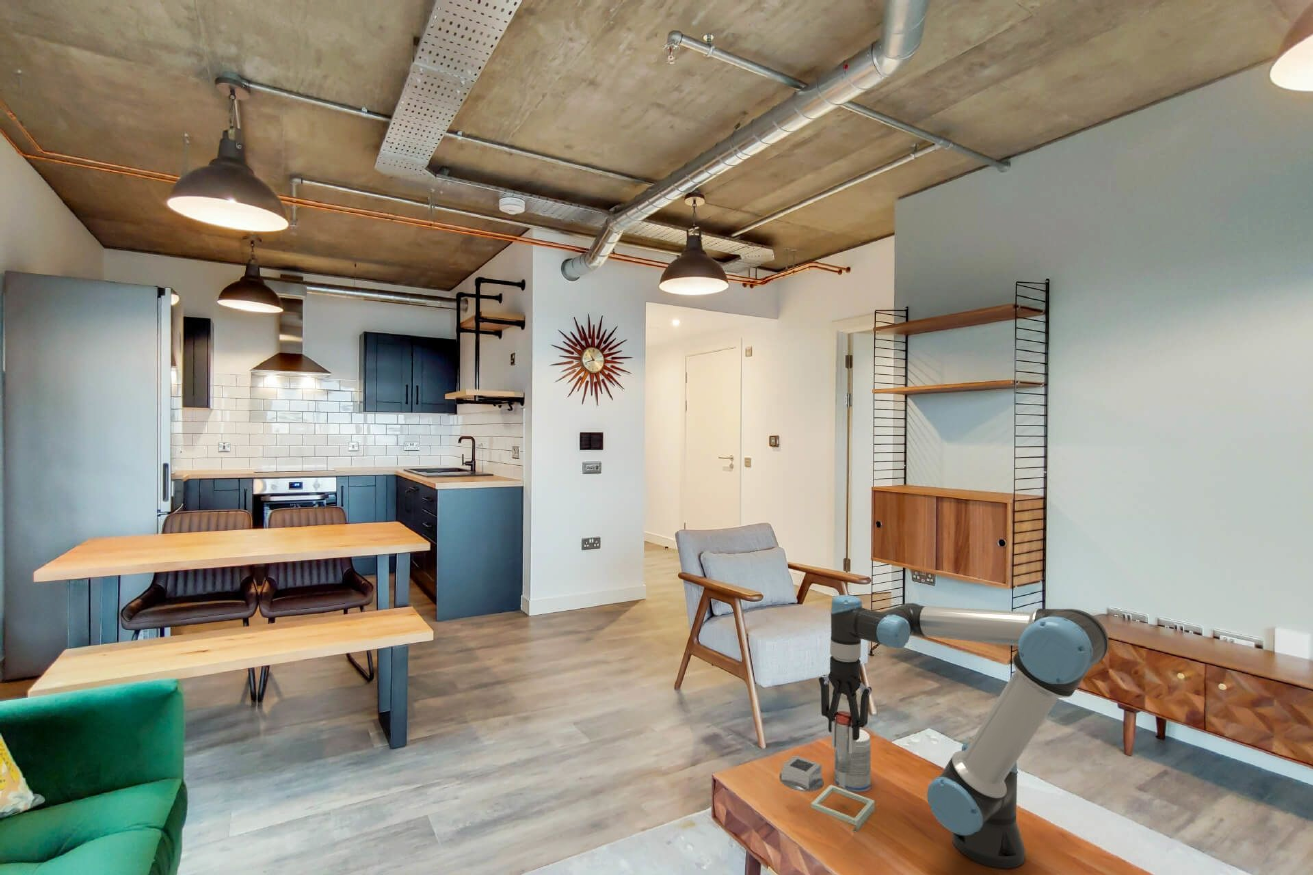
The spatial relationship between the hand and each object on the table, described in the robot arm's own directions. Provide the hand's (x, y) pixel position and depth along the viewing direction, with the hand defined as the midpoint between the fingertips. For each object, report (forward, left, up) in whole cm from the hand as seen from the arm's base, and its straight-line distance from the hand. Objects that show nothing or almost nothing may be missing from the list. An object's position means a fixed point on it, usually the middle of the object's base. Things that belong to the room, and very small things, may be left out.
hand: (843, 748), depth 165 cm
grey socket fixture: (+14, -5, -16) cm, 22 cm away
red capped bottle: (0, 0, -5) cm, 5 cm away
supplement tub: (+3, -13, -16) cm, 21 cm away
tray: (0, 0, -16) cm, 16 cm away
